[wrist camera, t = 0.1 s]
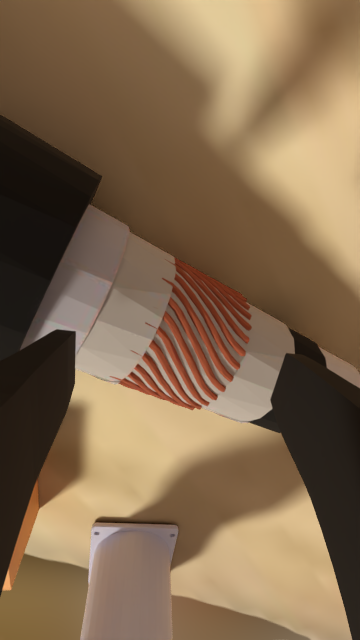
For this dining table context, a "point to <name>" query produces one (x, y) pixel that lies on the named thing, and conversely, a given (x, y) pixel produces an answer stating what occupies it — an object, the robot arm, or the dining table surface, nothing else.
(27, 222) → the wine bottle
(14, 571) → the orange hollow block
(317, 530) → the dining table surface
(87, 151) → the dining table surface
